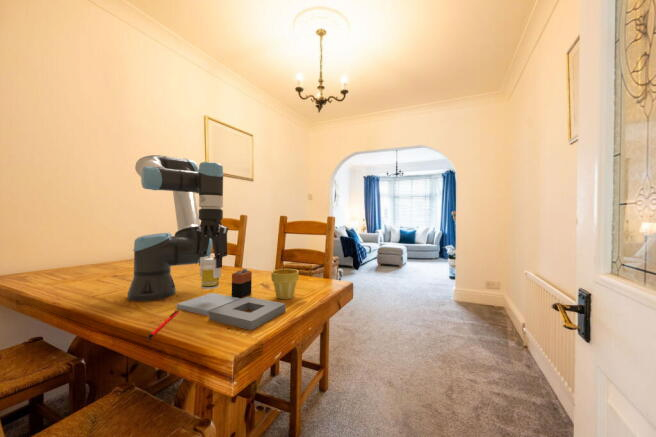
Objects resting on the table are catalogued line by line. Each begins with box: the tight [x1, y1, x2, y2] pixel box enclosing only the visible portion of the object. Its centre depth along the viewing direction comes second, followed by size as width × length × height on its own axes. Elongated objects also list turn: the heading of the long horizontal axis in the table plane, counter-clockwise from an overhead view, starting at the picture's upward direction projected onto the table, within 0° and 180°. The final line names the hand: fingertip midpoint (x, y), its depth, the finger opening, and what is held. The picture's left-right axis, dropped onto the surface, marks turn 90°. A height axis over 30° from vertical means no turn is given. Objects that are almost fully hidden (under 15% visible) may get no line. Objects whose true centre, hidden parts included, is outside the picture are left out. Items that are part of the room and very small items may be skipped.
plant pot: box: [270, 268, 300, 300], centre depth 101 cm, size 10×10×10 cm
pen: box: [147, 310, 180, 340], centre depth 74 cm, size 1×19×1 cm, turn 10°
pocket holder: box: [208, 296, 286, 331], centre depth 81 cm, size 16×16×2 cm
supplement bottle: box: [200, 257, 220, 290], centre depth 90 cm, size 5×5×10 cm
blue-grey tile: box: [176, 292, 240, 317], centre depth 90 cm, size 14×14×2 cm
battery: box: [231, 268, 253, 299], centre depth 101 cm, size 4×7×10 cm, turn 159°
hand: (210, 276), depth 90 cm, fingers closed on supplement bottle, 5 cm apart
